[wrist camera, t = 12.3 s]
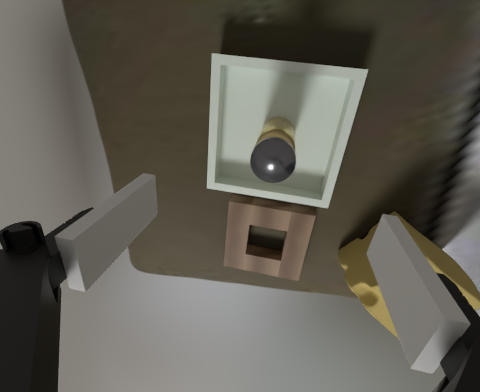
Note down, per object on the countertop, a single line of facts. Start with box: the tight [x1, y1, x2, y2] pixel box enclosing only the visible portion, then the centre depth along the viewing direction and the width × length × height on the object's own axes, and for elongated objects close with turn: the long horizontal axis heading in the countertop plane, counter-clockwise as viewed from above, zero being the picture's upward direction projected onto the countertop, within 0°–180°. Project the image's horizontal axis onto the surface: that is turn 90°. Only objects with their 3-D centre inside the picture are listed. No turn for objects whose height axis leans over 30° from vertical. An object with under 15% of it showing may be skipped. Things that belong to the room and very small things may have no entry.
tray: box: [207, 53, 368, 208], centre depth 32 cm, size 16×16×4 cm
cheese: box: [338, 211, 480, 337], centre depth 34 cm, size 10×11×10 cm
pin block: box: [224, 194, 316, 281], centre depth 40 cm, size 12×12×2 cm
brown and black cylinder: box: [250, 117, 296, 183], centre depth 28 cm, size 4×4×11 cm
